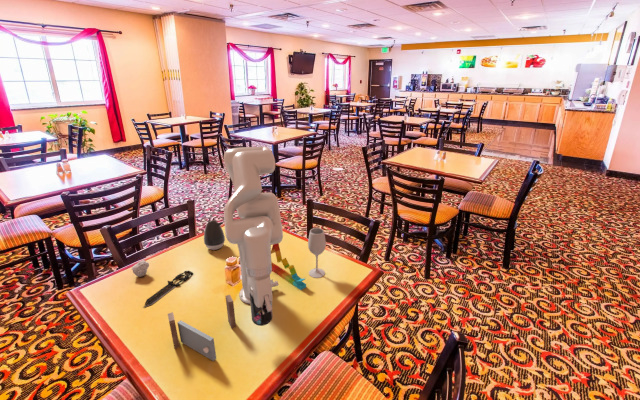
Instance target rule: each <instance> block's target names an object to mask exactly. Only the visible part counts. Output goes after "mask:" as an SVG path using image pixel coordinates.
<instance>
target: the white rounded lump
mask: <svg viewBox="0 0 640 400" xmlns="http://www.w3.org/2000/svg"><path fill="white" fill-rule="evenodd" d="M149 266H150V263H149V262H148V261H146V260H144V259H142V260H141V261H138V262H137V263H136V264H134V265H133V266H132V267H131V270H132V273H133V274H134V275H135V276H136V277H141V278H142V277H145V275H146V274H147V272H148V268H149Z"/></svg>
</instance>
